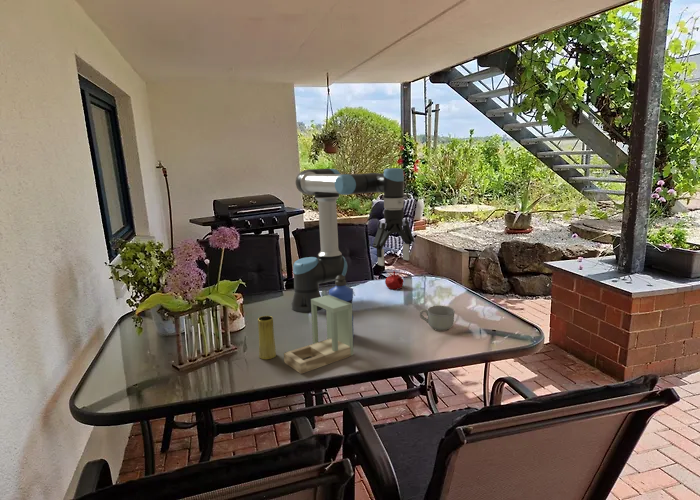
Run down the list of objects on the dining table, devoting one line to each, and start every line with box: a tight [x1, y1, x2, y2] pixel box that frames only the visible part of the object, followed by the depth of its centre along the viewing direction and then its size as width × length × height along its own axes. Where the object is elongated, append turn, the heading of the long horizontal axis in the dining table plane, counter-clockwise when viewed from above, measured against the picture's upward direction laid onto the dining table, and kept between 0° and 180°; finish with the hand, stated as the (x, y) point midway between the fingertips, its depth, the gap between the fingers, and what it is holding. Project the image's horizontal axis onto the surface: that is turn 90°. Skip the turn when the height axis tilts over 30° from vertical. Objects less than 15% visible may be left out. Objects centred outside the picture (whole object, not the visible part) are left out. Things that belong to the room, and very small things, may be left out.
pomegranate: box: [384, 270, 404, 290], centre depth 237 cm, size 10×10×9 cm
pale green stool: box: [310, 294, 354, 356], centre depth 158 cm, size 14×8×19 cm, turn 38°
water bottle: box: [328, 275, 355, 338], centre depth 171 cm, size 9×9×25 cm
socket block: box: [283, 338, 352, 375], centre depth 153 cm, size 11×20×4 cm, turn 128°
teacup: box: [418, 305, 455, 331], centre depth 179 cm, size 14×11×8 cm
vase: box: [257, 315, 277, 360], centre depth 156 cm, size 6×6×14 cm
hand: (393, 262), depth 173 cm, fingers open, 13 cm apart
